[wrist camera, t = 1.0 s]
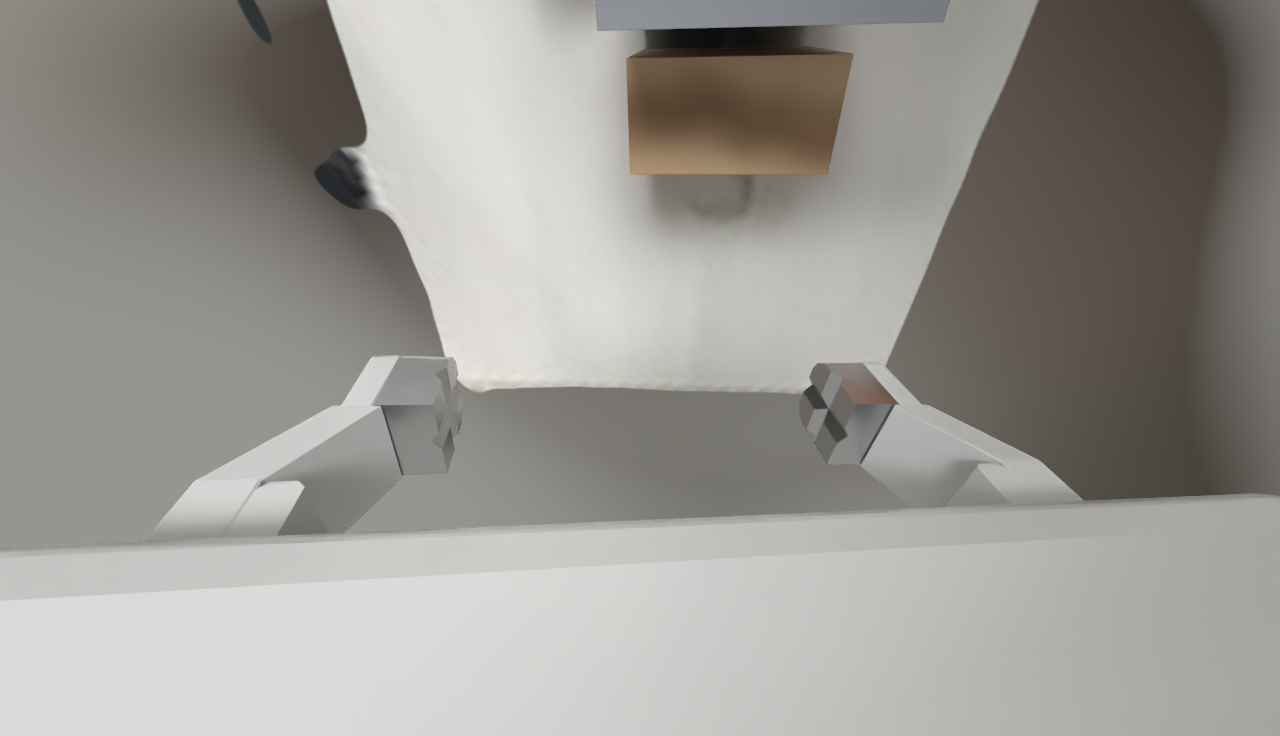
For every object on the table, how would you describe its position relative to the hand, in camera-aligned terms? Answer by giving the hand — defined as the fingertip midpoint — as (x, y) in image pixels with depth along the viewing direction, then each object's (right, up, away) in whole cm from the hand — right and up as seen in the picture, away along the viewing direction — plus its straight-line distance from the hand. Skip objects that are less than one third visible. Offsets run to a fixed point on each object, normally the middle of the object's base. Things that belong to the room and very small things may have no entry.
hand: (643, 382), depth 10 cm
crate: (+7, +26, +32) cm, 42 cm away
